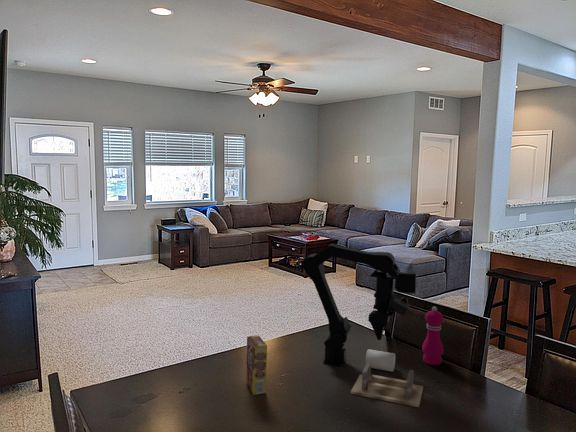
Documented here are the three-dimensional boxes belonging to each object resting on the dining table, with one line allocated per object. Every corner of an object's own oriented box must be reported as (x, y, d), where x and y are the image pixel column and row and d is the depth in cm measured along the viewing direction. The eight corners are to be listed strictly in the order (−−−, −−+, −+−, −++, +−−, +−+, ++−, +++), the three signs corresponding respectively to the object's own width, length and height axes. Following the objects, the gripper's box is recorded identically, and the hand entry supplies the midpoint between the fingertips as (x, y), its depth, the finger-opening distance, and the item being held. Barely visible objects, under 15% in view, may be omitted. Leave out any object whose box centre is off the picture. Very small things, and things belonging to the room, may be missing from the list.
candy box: (267, 393, 136) (267, 345, 134) (253, 395, 134) (253, 346, 133) (259, 380, 144) (259, 334, 143) (246, 382, 143) (245, 336, 141)
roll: (365, 370, 153) (365, 353, 152) (369, 362, 158) (369, 346, 157) (392, 375, 149) (392, 358, 148) (395, 366, 155) (395, 350, 154)
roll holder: (350, 393, 136) (351, 373, 136) (359, 376, 147) (360, 357, 147) (419, 407, 129) (419, 385, 128) (423, 388, 140) (424, 368, 139)
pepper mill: (440, 357, 163) (442, 303, 161) (445, 366, 156) (447, 310, 154) (419, 356, 164) (422, 303, 161) (423, 365, 156) (426, 309, 154)
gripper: (404, 301, 139) (402, 349, 141) (412, 286, 156) (409, 330, 158) (369, 296, 143) (366, 343, 145) (380, 282, 160) (378, 325, 162)
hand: (381, 335), depth 152 cm, fingers open, 9 cm apart
